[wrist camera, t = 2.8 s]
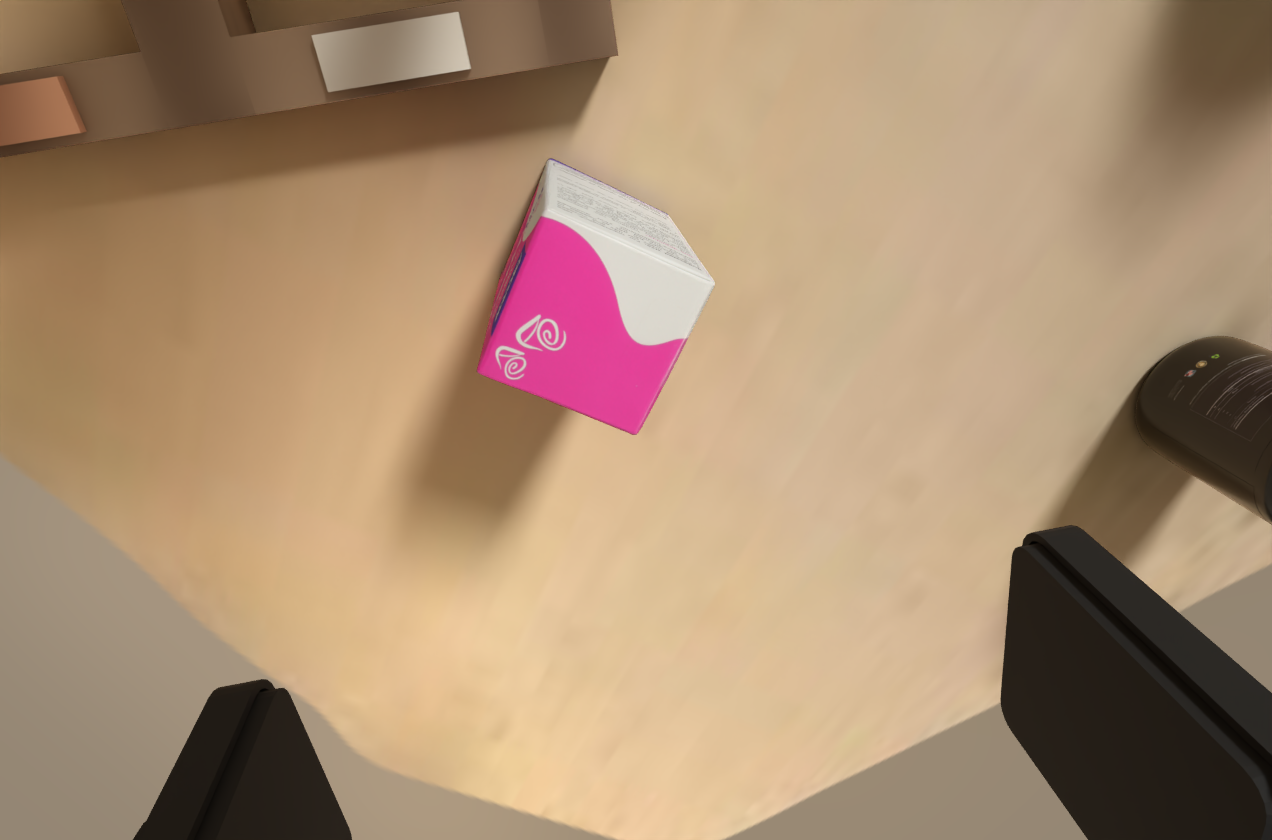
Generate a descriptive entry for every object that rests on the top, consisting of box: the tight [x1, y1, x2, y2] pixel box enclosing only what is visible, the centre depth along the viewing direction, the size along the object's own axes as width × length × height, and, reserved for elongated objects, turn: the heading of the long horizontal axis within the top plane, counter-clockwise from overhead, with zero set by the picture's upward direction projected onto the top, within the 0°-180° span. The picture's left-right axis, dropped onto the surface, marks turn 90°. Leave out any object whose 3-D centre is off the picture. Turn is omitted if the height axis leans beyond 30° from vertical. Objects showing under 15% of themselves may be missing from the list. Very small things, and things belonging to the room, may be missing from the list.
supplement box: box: [477, 159, 715, 435], centre depth 29 cm, size 6×6×12 cm
